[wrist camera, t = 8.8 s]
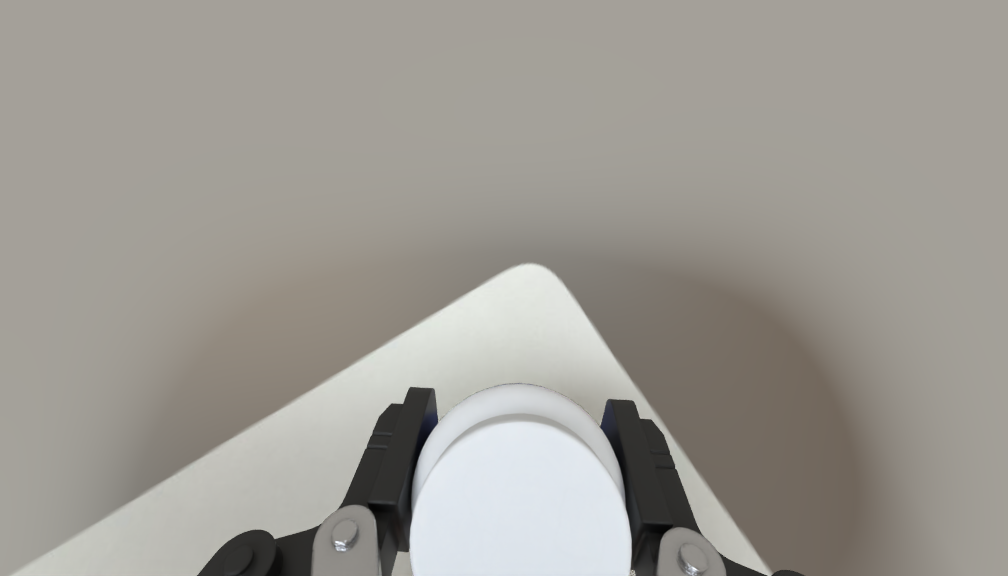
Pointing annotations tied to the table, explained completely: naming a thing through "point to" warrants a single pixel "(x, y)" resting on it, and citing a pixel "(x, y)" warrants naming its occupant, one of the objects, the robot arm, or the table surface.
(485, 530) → the pill bottle
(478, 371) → the table surface
